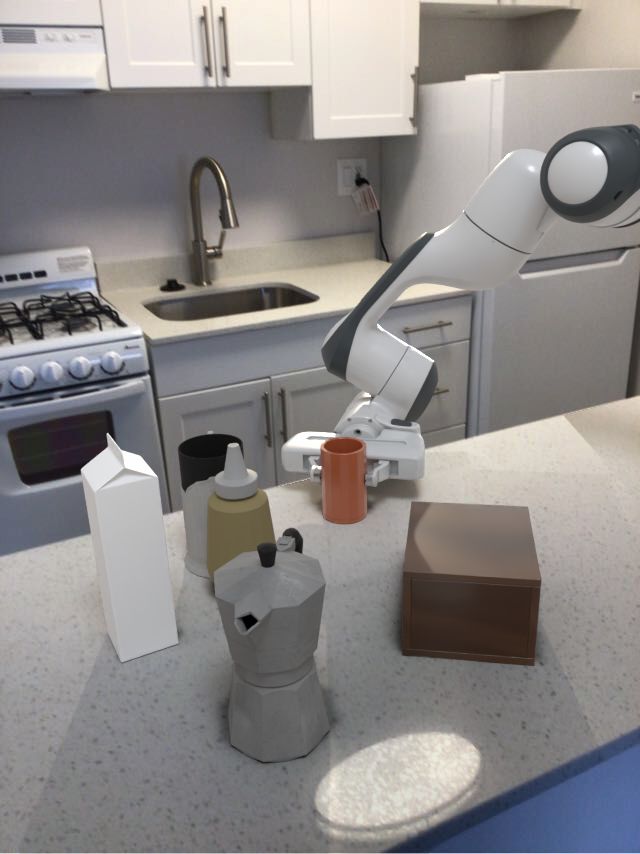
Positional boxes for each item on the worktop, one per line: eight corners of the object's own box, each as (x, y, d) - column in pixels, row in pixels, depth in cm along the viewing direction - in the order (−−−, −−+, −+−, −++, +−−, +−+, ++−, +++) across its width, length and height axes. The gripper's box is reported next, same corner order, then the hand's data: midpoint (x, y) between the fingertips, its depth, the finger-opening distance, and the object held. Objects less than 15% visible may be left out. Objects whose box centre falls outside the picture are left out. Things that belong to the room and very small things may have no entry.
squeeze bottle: (264, 617, 81) (253, 464, 74) (196, 605, 84) (180, 456, 77) (291, 577, 88) (283, 434, 82) (228, 567, 91) (215, 428, 84)
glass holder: (184, 581, 88) (170, 464, 83) (185, 524, 101) (174, 419, 96) (259, 573, 89) (250, 456, 84) (251, 517, 102) (243, 413, 97)
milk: (121, 664, 75) (87, 460, 67) (106, 631, 80) (73, 438, 72) (180, 643, 77) (154, 445, 69) (162, 613, 82) (136, 425, 74)
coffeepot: (313, 792, 59) (304, 597, 53) (200, 774, 61) (178, 584, 55) (350, 665, 73) (346, 499, 67) (257, 654, 75) (244, 491, 69)
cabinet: (410, 574, 88) (411, 500, 84) (522, 581, 86) (528, 506, 82) (402, 655, 74) (402, 571, 71) (534, 665, 72) (541, 579, 69)
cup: (365, 502, 105) (364, 436, 102) (368, 523, 100) (367, 453, 96) (322, 504, 105) (320, 437, 102) (322, 524, 100) (320, 455, 96)
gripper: (293, 416, 113) (266, 452, 101) (430, 423, 109) (419, 462, 96) (295, 455, 116) (269, 495, 103) (429, 464, 111) (418, 506, 99)
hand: (342, 479), depth 100 cm, fingers closed on cup, 6 cm apart
